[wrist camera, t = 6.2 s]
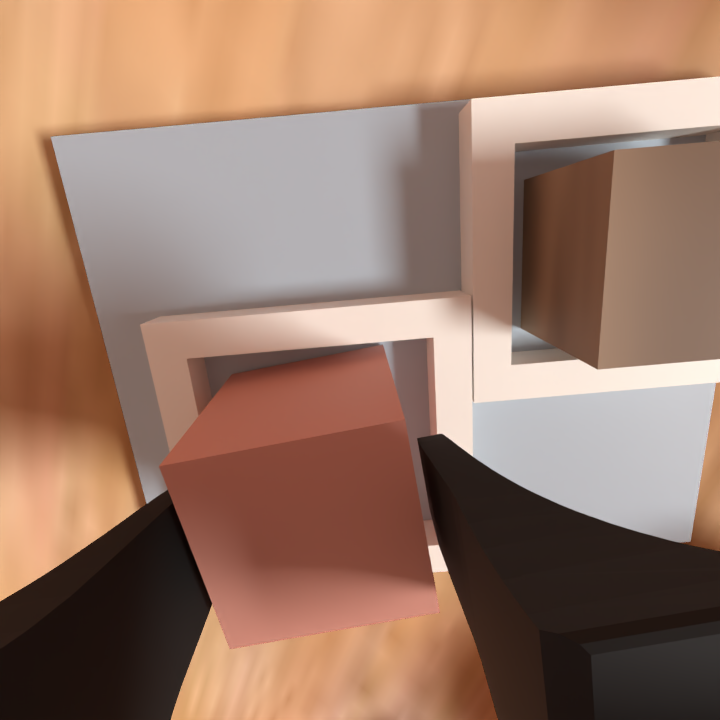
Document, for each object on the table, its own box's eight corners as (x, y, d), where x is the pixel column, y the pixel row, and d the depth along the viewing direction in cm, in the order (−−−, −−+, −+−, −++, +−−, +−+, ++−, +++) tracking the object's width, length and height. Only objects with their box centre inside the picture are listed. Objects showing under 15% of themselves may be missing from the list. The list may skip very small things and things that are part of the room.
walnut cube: (675, 166, 11) (845, 129, 7) (658, 316, 12) (798, 352, 8) (524, 179, 11) (614, 149, 7) (520, 328, 12) (597, 369, 8)
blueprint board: (730, 86, 12) (816, 52, 9) (669, 522, 15) (719, 567, 13) (75, 144, 12) (14, 124, 10) (179, 564, 16) (151, 615, 13)
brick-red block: (382, 344, 12) (404, 419, 7) (407, 477, 14) (440, 612, 9) (231, 374, 12) (158, 466, 8) (271, 502, 14) (230, 648, 9)
